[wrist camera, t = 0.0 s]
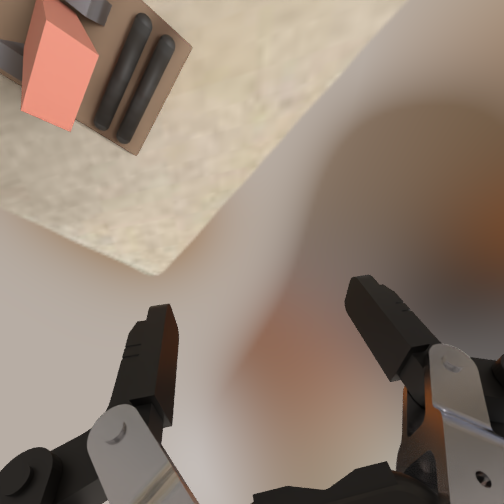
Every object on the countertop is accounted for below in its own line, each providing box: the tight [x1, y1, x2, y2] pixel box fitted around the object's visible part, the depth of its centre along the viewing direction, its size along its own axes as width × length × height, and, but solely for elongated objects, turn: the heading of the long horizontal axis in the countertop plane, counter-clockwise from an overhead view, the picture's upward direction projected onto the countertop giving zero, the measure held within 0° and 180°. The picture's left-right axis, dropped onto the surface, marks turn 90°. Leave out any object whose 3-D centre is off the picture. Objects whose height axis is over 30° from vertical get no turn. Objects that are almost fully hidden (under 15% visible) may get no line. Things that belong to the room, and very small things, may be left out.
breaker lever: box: [21, 0, 99, 131], centre depth 18 cm, size 2×5×15 cm, turn 142°
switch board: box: [0, 0, 192, 156], centre depth 23 cm, size 20×14×6 cm
